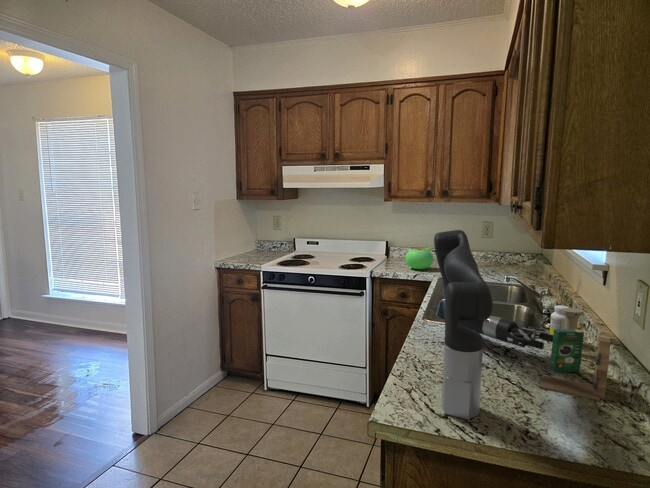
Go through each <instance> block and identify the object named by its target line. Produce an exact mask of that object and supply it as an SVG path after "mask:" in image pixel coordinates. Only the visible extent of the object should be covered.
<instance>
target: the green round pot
mask: <svg viewBox="0 0 650 488" xmlns="http://www.w3.org/2000/svg"><path fill="white" fill-rule="evenodd" d="M432 249H433V247H426V248H421V247H416V248H413V249H412V248H408V252H407V253H406V255H405V263H406V264H407V266H408V267H410V268H412V269H414V270H426V269H429V268H430V267H432V265H433V264H434V259H435V258H434V255H433V254H432V252H431V250H432Z"/></svg>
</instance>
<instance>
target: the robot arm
mask: <svg viewBox="0 0 650 488" xmlns="http://www.w3.org/2000/svg"><path fill="white" fill-rule="evenodd" d="M433 238H434V239H433V246H434V252H435V256H436V262H437V264H438V268H439V272H440V275H441V279H442V283H443V289H444V309H445V310H444V311H445V312H444V313H445V316H444V320H443V321H444V323H445V325H444V326H445V327H444V347H443V349H444V350H443V366H442V367H443V368H442V369H443V371H442V393H441V394H442V397H441V399H442V400H441V406H442V409H443V414H446V415H448V416H453V417H457V418H460V419H463V420H468V421H470V419H472V418H475V417H477V416H478V415H479V414H480V409H481V408H480V406H481V391H482V372H483V371H482V369H483V355H484V336H487V337H489V338H491V339H494V340H498V341H501V342H504V343H508V344H511V345H514V346H518V347H521V348H526V347H528V348H529V347H531V348H535V349H537V350H543V349H544V348H545V343H544V342H543V341H547V342H550V343H553V335H551V334H550V333H546V332H545V330H544V329H542V328H538V327H533V326H531V325H524V327H519V325H518V323H517V322H516V321H514V320H510V319H507V318H502V317H498V316H496V315H495V316H494V315H492V312H493V310H494V309H493V308H494V301H493V297H492V293H491V290H490V288H489V286H488V284H487V282H486V281H485V280H484V278H483V277H482V275H481V273H480V270H479V267H478V264H477V262H476V259H475V257H474V256H473V253H472V251H471V247H470V242H469V237H468V236H467V234H466V233H465V231H463V230H462V229H455V230H447V231H440V232H437V233H435V235H434V237H433ZM482 335H483V336H482ZM540 340H543V341H540Z"/></svg>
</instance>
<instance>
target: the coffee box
mask: <svg viewBox="0 0 650 488" xmlns="http://www.w3.org/2000/svg"><path fill="white" fill-rule="evenodd" d="M584 335H585V332H584V331H583V330H581V329H578V328H577V329H554V334H553V342H551V346H552V347H551V353H550V354H551V355H550V363H549V369H550V370H551V371H552V372H553V373H580V371H581V363H582V351H583V345H584Z"/></svg>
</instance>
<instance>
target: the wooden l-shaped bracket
mask: <svg viewBox="0 0 650 488" xmlns="http://www.w3.org/2000/svg"><path fill="white" fill-rule="evenodd" d="M606 334H607V333H606V330H605V329H602V328H600V331H599V335H598V340H597V341H598V342H597V350H596V351H597V352H596V358H595V370H594V379H593V384H588V383H583V382H577V381H574V380H570V379H563V378H559V377H555V376H554V377H553V376H549V375H544V374H542V376H541V383H540V389H542V390H547V391H552V392H557V393H560V394H565V395H570V396H574V397H577V398H578V397H579V398H584V399H589V400H593V401H598V402H601V399H603V400H605V398H606V390H607V381H608V380H607V379H608V369H609V359H610V350H611V338H610V337H609V336H607V335H606Z"/></svg>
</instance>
